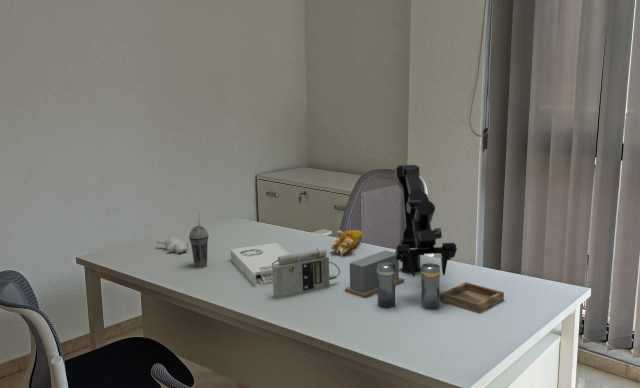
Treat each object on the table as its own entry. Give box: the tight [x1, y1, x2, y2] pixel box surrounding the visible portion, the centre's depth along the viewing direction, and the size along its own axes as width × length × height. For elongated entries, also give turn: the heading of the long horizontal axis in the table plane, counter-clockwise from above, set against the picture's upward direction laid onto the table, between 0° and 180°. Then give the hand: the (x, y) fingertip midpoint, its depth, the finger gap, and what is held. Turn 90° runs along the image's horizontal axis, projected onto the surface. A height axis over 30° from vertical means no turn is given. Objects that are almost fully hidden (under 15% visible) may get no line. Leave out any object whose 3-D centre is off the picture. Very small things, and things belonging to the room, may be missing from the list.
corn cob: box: [329, 229, 363, 257], centre depth 263 cm, size 8×8×25 cm
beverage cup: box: [188, 214, 209, 269], centre depth 245 cm, size 7×7×20 cm
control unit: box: [344, 250, 405, 299], centre depth 219 cm, size 20×9×10 cm, turn 134°
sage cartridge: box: [377, 262, 396, 309], centre depth 203 cm, size 6×6×13 cm
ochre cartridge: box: [420, 262, 441, 311], centre depth 200 cm, size 6×6×13 cm
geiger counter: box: [272, 246, 341, 299], centre depth 218 cm, size 14×6×25 cm
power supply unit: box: [230, 242, 291, 288], centre depth 241 cm, size 19×33×5 cm, turn 22°
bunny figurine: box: [156, 236, 189, 255], centre depth 268 cm, size 10×5×15 cm
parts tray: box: [439, 281, 505, 314], centre depth 205 cm, size 14×14×3 cm
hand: (429, 275), depth 202 cm, fingers open, 9 cm apart
